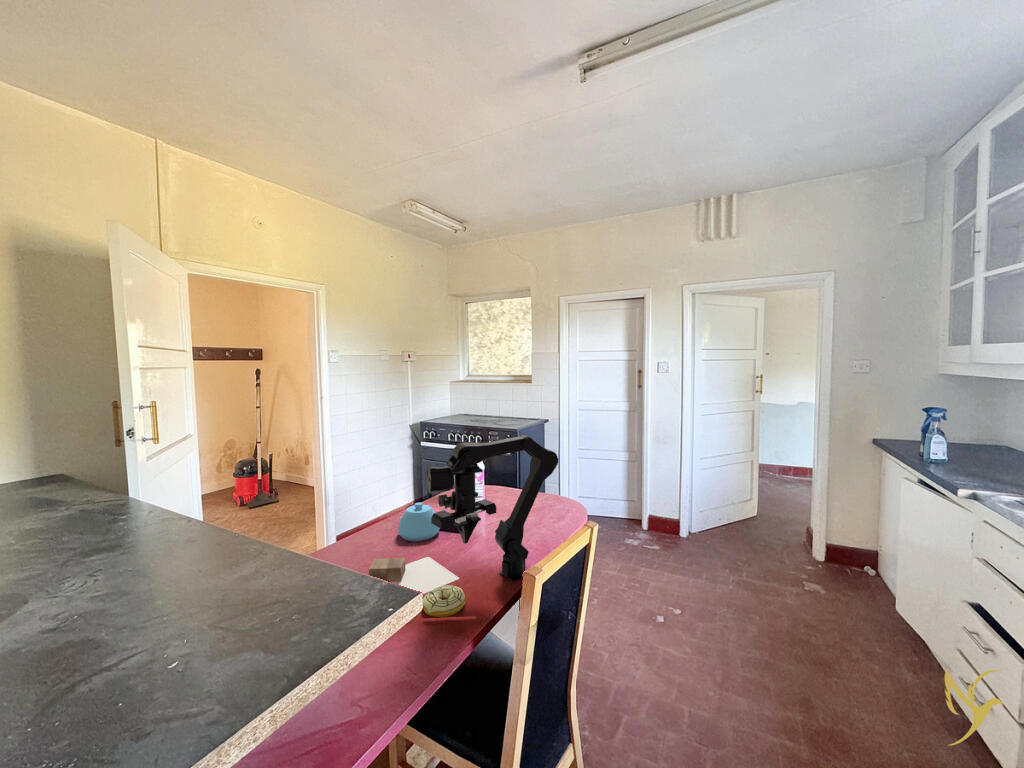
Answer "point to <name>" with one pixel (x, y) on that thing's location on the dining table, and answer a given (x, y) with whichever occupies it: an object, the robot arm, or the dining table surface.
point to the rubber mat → (426, 575)
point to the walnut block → (388, 569)
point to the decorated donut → (444, 601)
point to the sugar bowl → (417, 523)
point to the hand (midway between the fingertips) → (465, 542)
